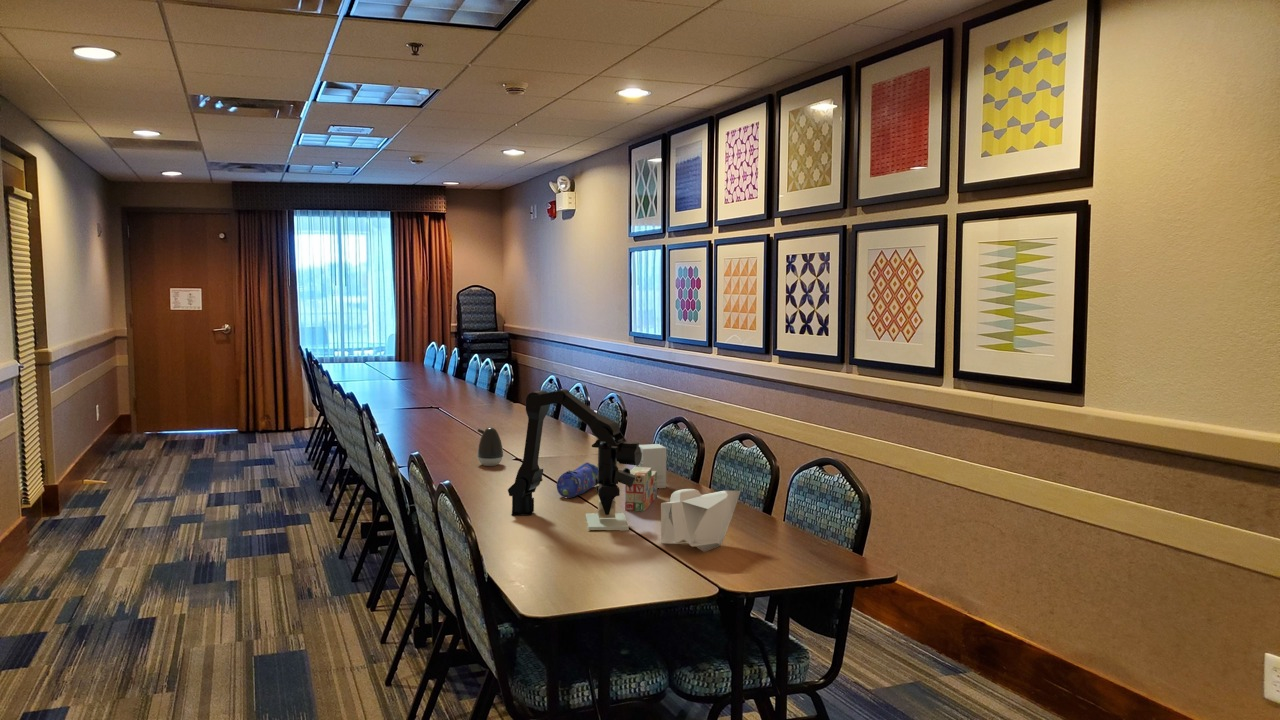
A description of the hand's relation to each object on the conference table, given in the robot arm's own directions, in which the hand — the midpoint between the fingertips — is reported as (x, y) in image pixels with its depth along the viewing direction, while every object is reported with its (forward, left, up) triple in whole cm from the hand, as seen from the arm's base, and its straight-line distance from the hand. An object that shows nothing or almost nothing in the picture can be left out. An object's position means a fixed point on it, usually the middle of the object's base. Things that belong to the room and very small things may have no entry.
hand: (606, 512), depth 283 cm
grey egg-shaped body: (-40, +92, -4) cm, 100 cm away
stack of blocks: (+14, +25, -4) cm, 29 cm away
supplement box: (+20, +51, -4) cm, 55 cm away
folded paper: (+26, -26, -4) cm, 37 cm away
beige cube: (0, 0, -1) cm, 1 cm away
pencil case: (-6, +43, -4) cm, 43 cm away
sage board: (0, 0, -4) cm, 4 cm away
